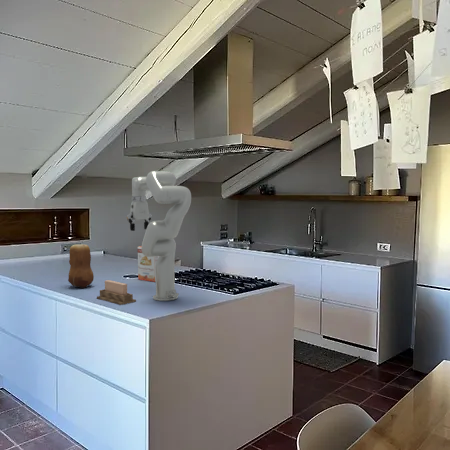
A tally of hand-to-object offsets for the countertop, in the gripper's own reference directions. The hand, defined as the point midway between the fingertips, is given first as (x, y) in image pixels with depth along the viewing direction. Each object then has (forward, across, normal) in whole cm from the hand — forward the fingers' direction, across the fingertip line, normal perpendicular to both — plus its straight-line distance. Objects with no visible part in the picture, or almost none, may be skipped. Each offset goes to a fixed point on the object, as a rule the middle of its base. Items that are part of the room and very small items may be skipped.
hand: (139, 230), depth 259 cm
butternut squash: (+34, -20, +29) cm, 49 cm away
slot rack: (+33, -26, -13) cm, 44 cm away
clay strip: (+32, -26, -13) cm, 43 cm away
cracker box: (+34, +19, +15) cm, 41 cm away
